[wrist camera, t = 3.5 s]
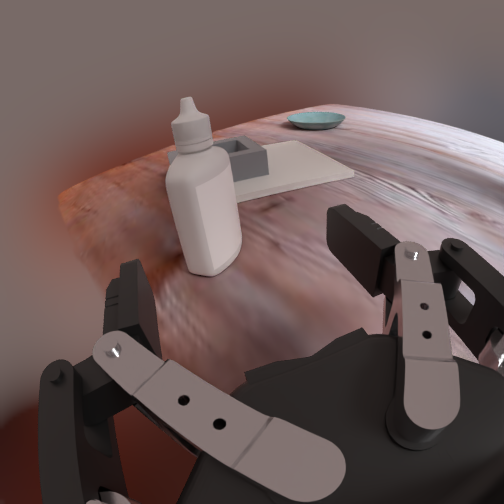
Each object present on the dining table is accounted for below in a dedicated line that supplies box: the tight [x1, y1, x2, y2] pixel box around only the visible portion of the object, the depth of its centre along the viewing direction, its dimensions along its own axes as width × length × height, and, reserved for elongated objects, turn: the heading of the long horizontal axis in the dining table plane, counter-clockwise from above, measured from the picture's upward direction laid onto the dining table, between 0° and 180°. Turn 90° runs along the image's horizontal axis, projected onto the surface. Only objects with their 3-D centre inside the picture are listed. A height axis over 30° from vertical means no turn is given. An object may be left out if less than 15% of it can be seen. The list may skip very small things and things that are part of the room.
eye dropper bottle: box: [165, 97, 242, 276], centre depth 20 cm, size 4×6×12 cm
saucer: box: [287, 112, 345, 130], centre depth 56 cm, size 12×12×2 cm
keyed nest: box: [167, 136, 354, 203], centre depth 37 cm, size 20×16×4 cm
